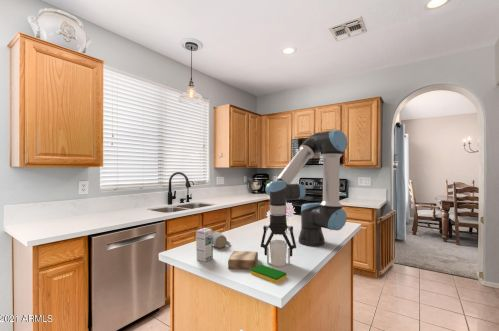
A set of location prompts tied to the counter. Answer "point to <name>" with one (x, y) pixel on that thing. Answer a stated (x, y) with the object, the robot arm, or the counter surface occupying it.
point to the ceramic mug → (219, 240)
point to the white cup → (278, 252)
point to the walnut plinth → (243, 260)
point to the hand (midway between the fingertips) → (278, 262)
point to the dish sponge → (269, 273)
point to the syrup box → (204, 244)
